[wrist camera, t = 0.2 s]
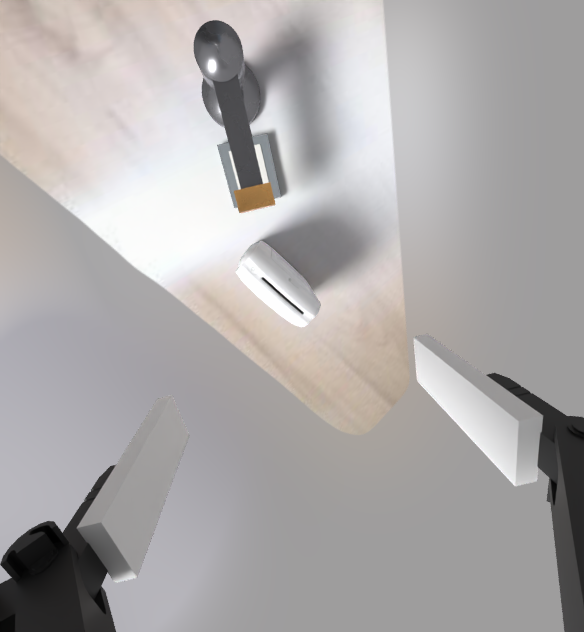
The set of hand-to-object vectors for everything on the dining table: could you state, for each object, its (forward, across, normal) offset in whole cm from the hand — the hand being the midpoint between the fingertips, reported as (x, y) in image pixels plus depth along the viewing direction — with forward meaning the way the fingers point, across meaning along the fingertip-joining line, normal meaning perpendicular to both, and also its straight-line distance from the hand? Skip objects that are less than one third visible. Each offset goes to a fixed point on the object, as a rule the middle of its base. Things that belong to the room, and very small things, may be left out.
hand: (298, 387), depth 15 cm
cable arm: (+19, 0, +17) cm, 26 cm away
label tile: (+26, 0, +14) cm, 30 cm away
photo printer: (+26, 0, +2) cm, 27 cm away
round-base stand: (+26, 0, +22) cm, 34 cm away
